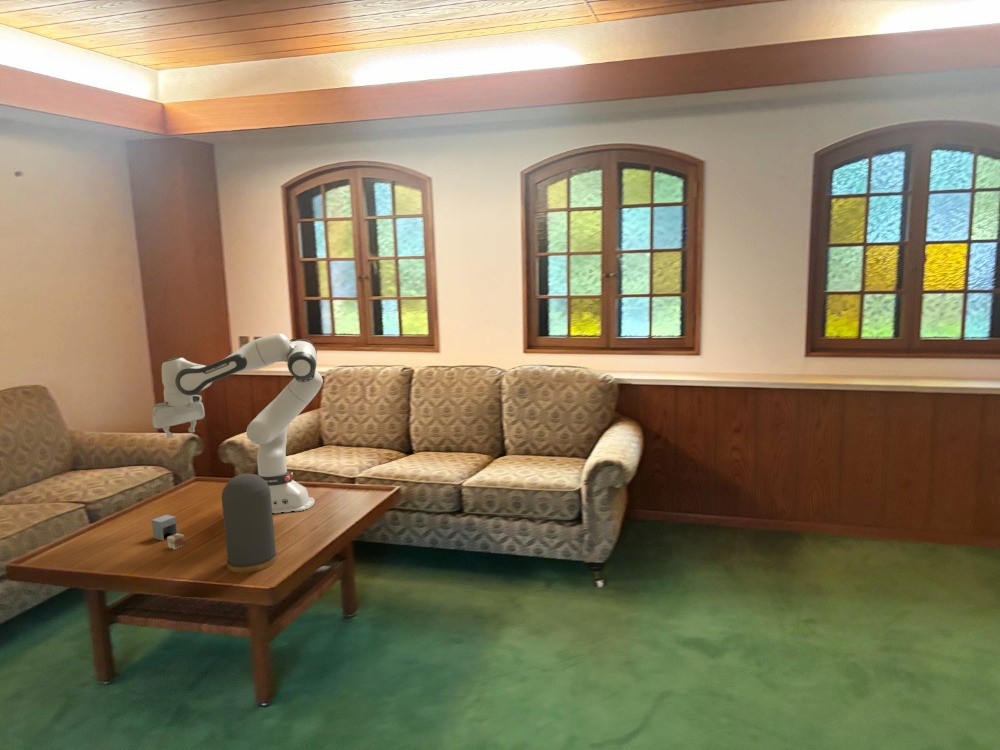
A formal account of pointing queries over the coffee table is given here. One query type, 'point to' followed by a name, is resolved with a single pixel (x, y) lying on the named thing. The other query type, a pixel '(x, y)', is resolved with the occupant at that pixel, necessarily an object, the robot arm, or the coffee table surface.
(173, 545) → the letter cube
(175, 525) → the slate cover
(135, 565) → the coffee table surface
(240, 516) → the decorative piece
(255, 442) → the robot arm
